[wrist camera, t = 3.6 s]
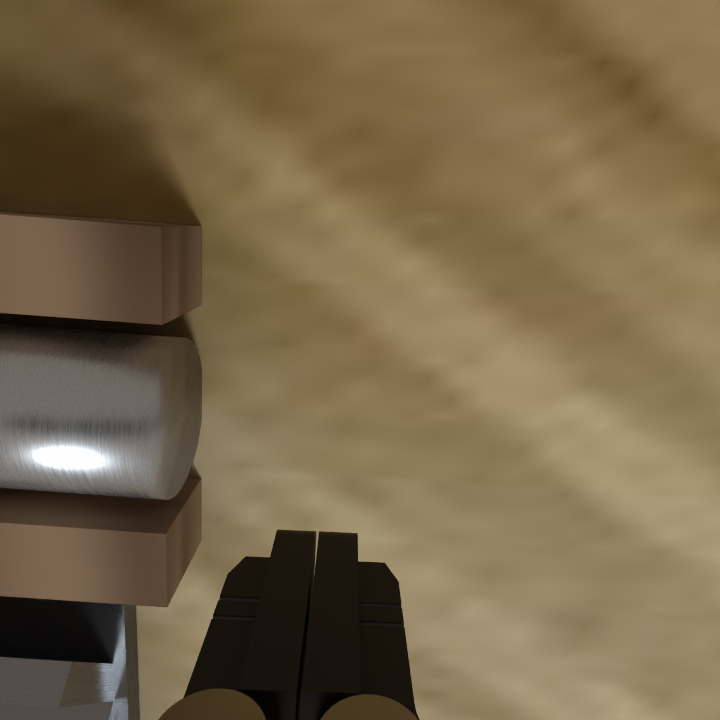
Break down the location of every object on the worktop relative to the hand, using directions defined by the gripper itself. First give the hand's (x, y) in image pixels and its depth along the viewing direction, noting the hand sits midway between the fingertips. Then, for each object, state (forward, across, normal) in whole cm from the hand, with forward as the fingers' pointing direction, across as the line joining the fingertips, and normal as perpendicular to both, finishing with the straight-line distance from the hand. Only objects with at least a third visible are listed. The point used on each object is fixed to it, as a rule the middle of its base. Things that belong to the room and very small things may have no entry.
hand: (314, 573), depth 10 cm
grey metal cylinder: (+9, +10, 0) cm, 14 cm away
